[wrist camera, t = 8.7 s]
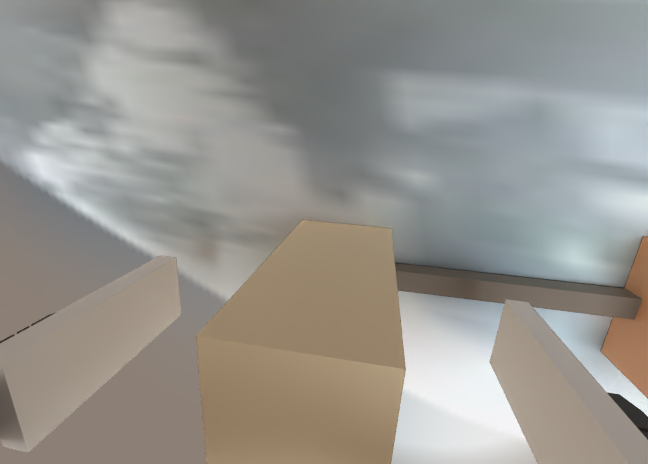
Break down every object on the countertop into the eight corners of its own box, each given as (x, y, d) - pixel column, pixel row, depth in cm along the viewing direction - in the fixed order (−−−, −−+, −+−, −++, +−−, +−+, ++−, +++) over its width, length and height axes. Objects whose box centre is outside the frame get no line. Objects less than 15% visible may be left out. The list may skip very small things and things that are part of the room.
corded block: (302, 205, 16) (193, 305, 7) (809, 250, 13) (1910, 553, 4) (299, 309, 18) (209, 502, 9) (743, 371, 15) (1367, 781, 5)
